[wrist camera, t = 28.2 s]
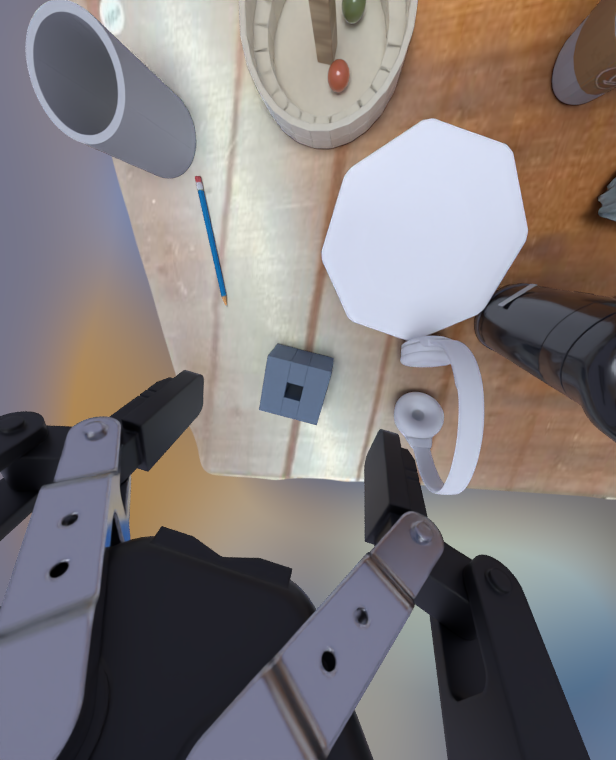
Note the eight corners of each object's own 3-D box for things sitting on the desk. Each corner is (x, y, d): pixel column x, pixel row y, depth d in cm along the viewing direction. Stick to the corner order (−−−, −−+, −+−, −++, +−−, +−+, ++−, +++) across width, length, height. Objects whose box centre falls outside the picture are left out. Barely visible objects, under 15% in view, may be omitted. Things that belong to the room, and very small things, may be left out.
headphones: (450, 319, 39) (539, 372, 21) (431, 424, 46) (484, 530, 28) (399, 319, 40) (442, 371, 22) (388, 422, 47) (413, 524, 29)
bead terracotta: (354, 61, 28) (342, 88, 30) (335, 46, 27) (324, 75, 29) (353, 77, 27) (341, 103, 29) (333, 62, 26) (322, 90, 29)
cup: (128, 164, 36) (33, 125, 25) (129, 74, 32) (17, -19, 21) (191, 188, 36) (124, 158, 25) (200, 101, 32) (125, 22, 21)
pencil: (201, 177, 35) (199, 175, 35) (229, 306, 42) (227, 307, 42) (196, 178, 36) (193, 176, 35) (224, 307, 42) (223, 307, 42)
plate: (306, 303, 40) (305, 305, 39) (367, 101, 30) (368, 94, 29) (451, 354, 41) (455, 357, 39) (561, 170, 30) (571, 166, 29)
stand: (333, 358, 43) (331, 372, 38) (320, 406, 48) (316, 425, 42) (277, 343, 44) (267, 355, 38) (268, 392, 48) (258, 409, 43)
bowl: (399, -100, 24) (412, -192, 19) (410, 124, 30) (423, 98, 25) (238, -19, 28) (214, -80, 23) (278, 168, 34) (266, 152, 29)
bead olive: (363, -9, 26) (365, -33, 24) (366, 25, 27) (368, 5, 25) (339, 2, 27) (339, -20, 25) (343, 35, 28) (343, 16, 26)
